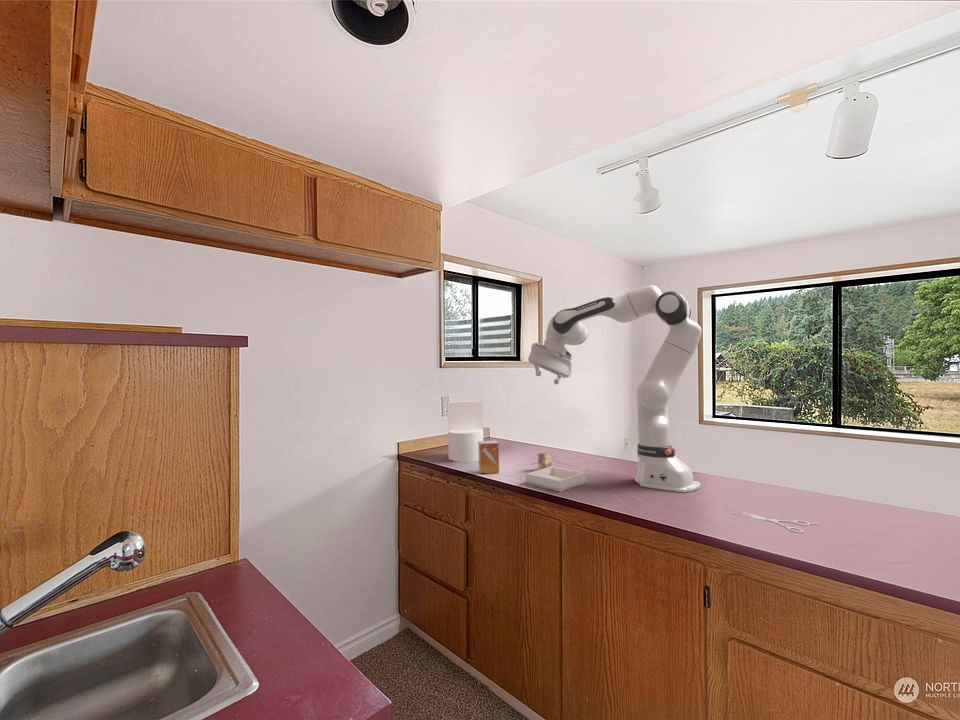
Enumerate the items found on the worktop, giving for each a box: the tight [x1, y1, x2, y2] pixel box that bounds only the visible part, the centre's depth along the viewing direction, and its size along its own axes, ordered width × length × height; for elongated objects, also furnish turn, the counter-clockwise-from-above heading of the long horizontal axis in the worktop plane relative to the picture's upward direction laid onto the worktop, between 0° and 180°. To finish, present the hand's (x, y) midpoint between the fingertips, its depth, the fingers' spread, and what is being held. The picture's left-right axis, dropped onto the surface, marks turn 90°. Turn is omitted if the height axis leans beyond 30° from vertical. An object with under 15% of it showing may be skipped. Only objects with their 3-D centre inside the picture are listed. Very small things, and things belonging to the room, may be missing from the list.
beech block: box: [537, 451, 553, 470], centre depth 189 cm, size 4×4×8 cm
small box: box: [478, 440, 500, 474], centre depth 189 cm, size 8×6×13 cm
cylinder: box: [446, 399, 484, 463], centre depth 217 cm, size 17×17×28 cm
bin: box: [525, 465, 587, 493], centre depth 168 cm, size 16×16×4 cm
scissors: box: [735, 510, 820, 534], centre depth 125 cm, size 11×1×20 cm
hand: (547, 379), depth 184 cm, fingers open, 8 cm apart
